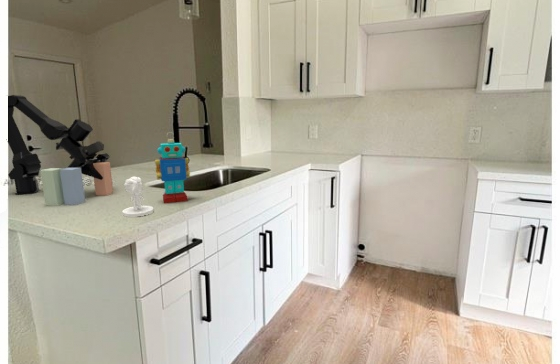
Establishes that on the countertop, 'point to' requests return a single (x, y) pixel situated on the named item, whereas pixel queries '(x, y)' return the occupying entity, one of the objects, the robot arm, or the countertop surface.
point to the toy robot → (172, 171)
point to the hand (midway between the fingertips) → (106, 177)
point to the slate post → (72, 186)
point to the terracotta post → (106, 183)
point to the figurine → (136, 198)
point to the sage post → (52, 186)
